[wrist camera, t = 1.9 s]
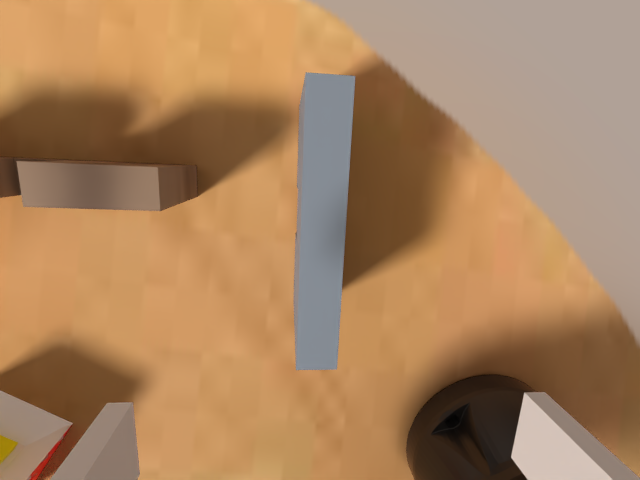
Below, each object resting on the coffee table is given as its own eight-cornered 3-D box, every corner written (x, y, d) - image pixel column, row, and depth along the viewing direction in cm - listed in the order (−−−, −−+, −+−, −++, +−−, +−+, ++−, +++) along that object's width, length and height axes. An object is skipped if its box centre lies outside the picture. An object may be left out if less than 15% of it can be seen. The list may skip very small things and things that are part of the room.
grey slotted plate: (330, 107, 26) (355, 76, 16) (321, 301, 30) (336, 369, 20) (299, 105, 26) (305, 72, 16) (293, 301, 29) (295, 369, 20)
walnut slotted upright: (196, 165, 26) (157, 167, 18) (197, 196, 27) (160, 210, 19) (-61, 154, 24) (-224, 150, 17) (-54, 187, 25) (-209, 199, 17)
